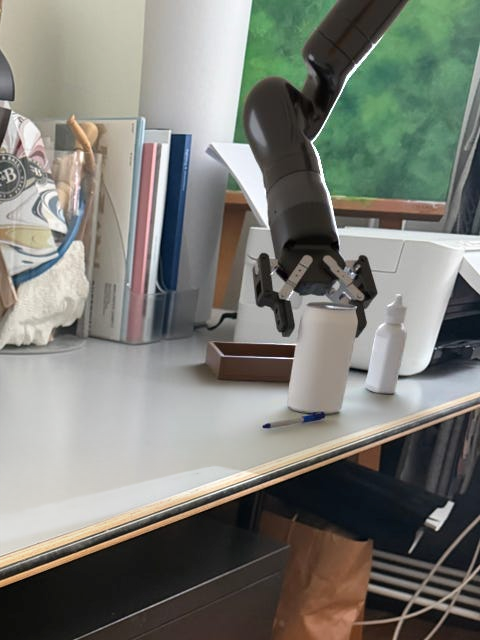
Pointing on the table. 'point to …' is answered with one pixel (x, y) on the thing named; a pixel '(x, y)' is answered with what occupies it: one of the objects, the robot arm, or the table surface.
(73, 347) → the table surface
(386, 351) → the eye dropper bottle
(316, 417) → the ballpoint pen
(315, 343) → the can
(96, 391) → the table surface
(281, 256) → the robot arm
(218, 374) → the tray
